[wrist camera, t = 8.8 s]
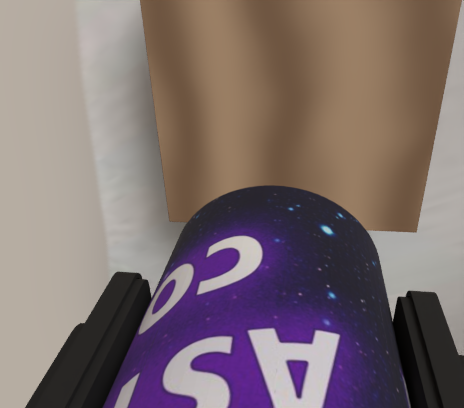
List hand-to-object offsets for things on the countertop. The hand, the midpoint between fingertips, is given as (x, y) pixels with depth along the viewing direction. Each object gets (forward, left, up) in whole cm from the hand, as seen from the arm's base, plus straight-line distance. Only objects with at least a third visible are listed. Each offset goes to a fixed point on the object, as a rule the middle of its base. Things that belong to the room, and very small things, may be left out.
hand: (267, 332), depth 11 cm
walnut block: (0, 0, -25) cm, 25 cm away
